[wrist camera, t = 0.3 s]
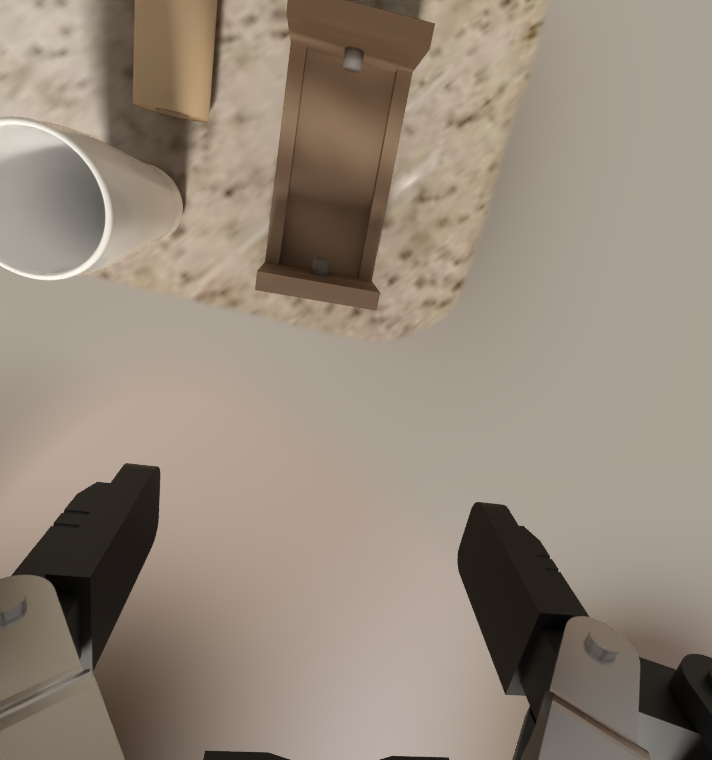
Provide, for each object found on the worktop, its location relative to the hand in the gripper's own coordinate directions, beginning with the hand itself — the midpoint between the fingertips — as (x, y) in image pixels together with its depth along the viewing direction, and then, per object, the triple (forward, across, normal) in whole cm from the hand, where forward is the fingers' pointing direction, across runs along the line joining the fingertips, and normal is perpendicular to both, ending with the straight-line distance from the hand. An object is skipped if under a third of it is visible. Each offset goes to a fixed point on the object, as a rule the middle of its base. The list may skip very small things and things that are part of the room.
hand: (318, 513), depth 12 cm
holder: (+28, 0, -9) cm, 29 cm away
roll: (+28, +11, -16) cm, 34 cm away
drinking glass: (+28, +13, -5) cm, 31 cm away
